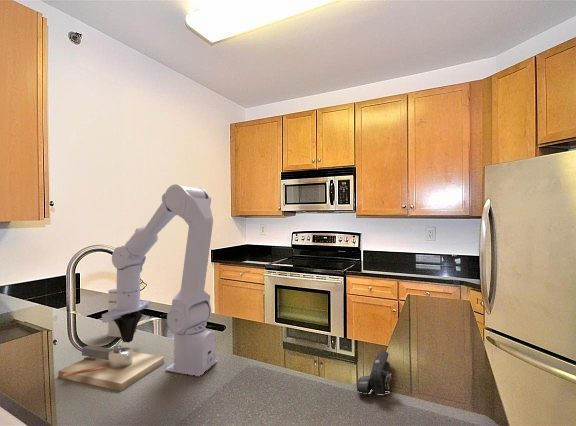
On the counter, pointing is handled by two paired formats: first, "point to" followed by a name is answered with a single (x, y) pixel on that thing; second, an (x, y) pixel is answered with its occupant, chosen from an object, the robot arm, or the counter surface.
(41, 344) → the counter surface
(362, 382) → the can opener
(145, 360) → the cutting board
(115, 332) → the syrup box
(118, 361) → the grey bar with knob
